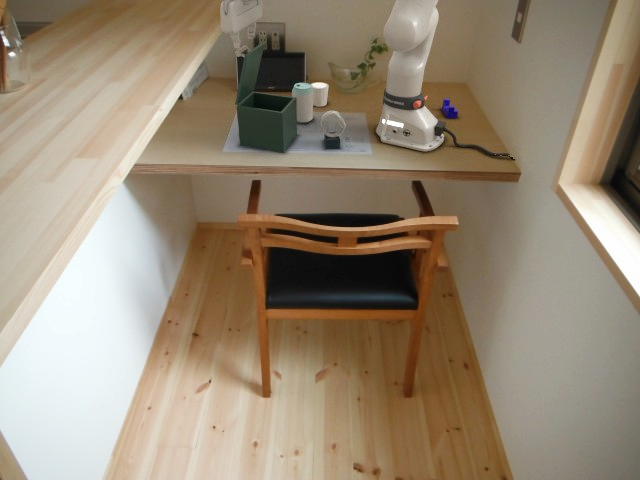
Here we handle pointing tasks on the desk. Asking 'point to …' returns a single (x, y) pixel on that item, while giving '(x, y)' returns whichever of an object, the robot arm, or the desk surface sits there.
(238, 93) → the lid
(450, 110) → the cable holder
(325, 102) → the white cup
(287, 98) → the trash can
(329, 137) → the watch
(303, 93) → the can
